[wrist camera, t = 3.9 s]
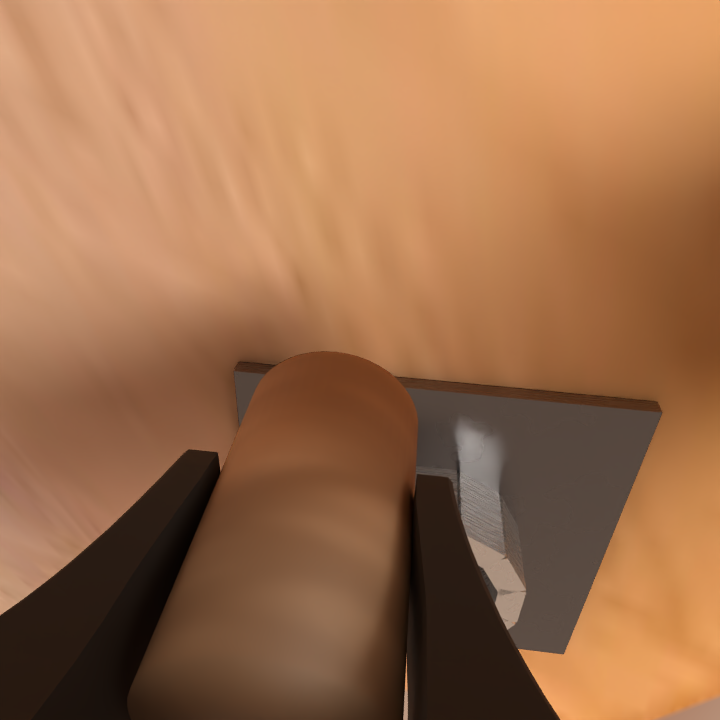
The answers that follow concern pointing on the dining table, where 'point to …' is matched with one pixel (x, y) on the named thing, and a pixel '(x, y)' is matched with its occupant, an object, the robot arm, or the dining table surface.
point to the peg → (297, 559)
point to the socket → (526, 487)
